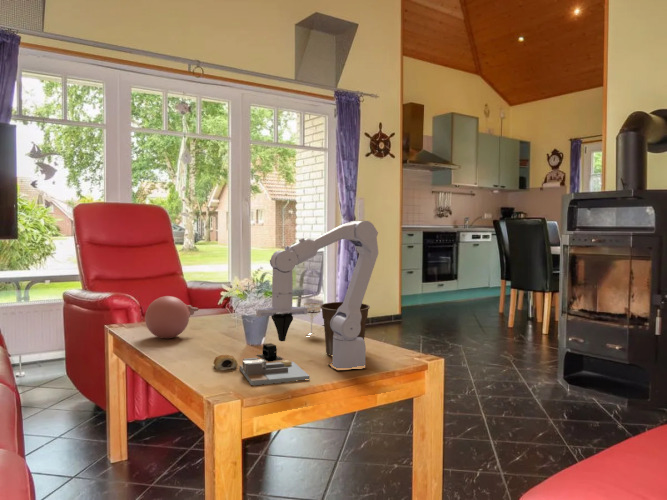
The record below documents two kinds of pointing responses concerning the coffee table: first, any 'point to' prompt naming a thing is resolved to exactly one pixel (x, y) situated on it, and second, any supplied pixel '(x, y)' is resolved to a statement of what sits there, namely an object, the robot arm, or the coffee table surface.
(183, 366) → the coffee table surface
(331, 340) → the plant pot
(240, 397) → the coffee table surface
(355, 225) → the robot arm
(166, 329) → the balloon
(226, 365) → the pastry
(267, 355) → the black block
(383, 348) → the coffee table surface
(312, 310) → the wineglass
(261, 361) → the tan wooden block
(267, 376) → the door board
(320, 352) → the coffee table surface
